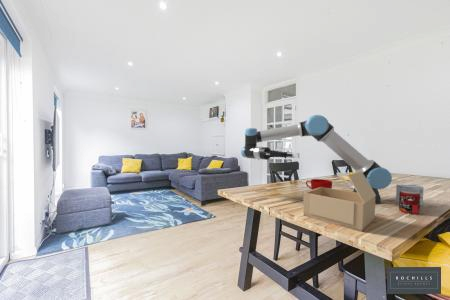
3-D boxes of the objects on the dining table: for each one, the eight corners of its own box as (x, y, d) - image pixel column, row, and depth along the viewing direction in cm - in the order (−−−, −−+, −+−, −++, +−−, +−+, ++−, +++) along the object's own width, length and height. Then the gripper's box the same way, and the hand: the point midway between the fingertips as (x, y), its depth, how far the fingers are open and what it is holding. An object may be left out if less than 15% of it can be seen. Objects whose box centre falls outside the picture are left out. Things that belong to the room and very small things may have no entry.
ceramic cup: (310, 191, 151) (310, 177, 150) (335, 196, 138) (335, 181, 138) (301, 194, 142) (301, 179, 142) (327, 199, 129) (327, 183, 129)
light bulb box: (414, 202, 126) (414, 184, 126) (423, 205, 120) (424, 186, 119) (395, 201, 127) (395, 183, 127) (403, 204, 121) (404, 186, 120)
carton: (302, 215, 99) (302, 192, 99) (320, 206, 114) (321, 186, 113) (361, 232, 81) (362, 204, 81) (374, 219, 96) (375, 195, 95)
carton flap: (347, 175, 86) (348, 174, 85) (360, 171, 99) (361, 171, 99) (363, 203, 82) (364, 203, 81) (375, 195, 95) (376, 195, 94)
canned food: (394, 209, 110) (395, 189, 110) (408, 209, 111) (409, 189, 111) (408, 214, 103) (409, 192, 102) (423, 214, 103) (424, 192, 103)
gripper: (268, 158, 133) (304, 162, 116) (255, 159, 124) (292, 163, 107) (269, 147, 133) (304, 148, 116) (256, 147, 124) (292, 148, 107)
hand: (298, 155), depth 111 cm, fingers closed
